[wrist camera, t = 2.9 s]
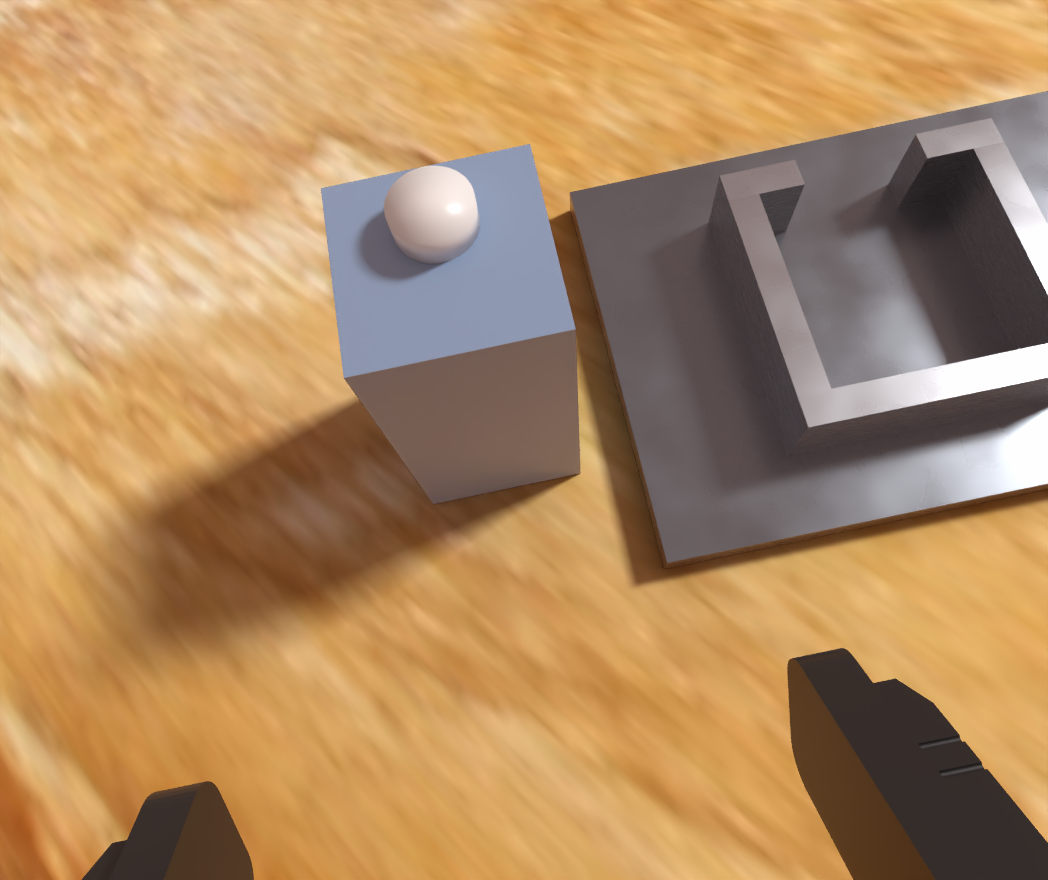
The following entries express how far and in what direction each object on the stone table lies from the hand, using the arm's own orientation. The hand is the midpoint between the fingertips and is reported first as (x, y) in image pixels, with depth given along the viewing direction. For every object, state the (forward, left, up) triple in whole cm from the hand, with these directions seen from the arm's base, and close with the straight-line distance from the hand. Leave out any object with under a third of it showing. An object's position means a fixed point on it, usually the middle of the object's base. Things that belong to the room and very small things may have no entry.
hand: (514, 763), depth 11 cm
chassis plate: (+8, +16, -13) cm, 22 cm away
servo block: (-4, +10, -13) cm, 17 cm away
